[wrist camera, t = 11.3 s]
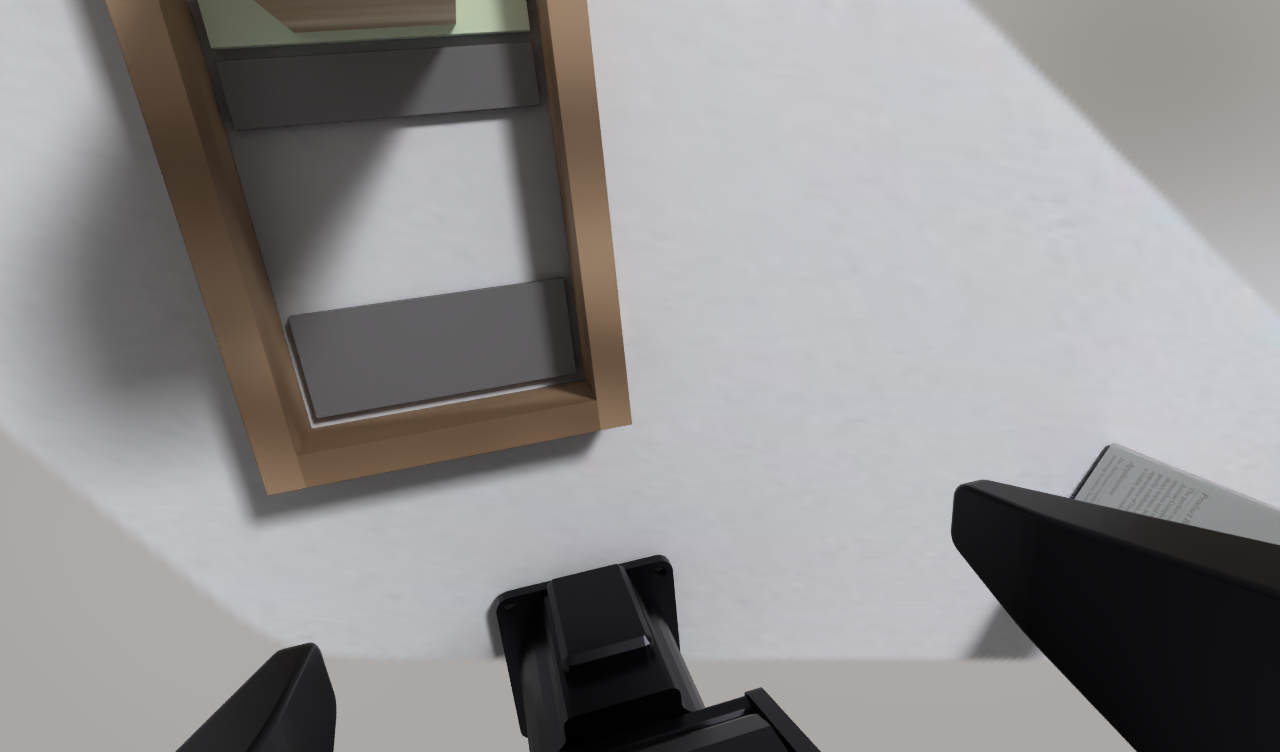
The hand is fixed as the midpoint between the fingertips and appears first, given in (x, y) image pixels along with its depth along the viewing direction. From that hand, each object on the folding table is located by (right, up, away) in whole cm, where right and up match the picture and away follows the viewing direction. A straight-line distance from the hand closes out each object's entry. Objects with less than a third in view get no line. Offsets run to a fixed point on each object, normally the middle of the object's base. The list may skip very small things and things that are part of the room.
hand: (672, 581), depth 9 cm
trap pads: (-7, +7, +10) cm, 14 cm away
